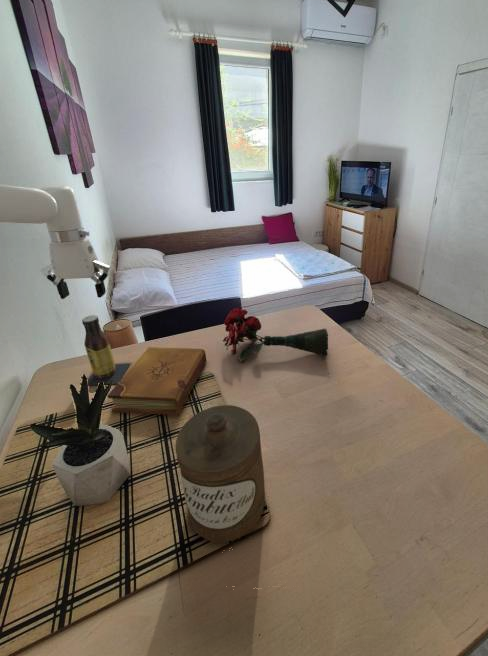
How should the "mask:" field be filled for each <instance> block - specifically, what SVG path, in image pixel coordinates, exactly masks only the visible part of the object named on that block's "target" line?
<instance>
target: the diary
mask: <svg viewBox="0 0 488 656" xmlns="http://www.w3.org/2000/svg"><path fill="white" fill-rule="evenodd" d="M206 363H207V355H206V351H205V350H204V349H203V348H191V347H190V348H189V347H188V348H186V347H185V348H184V347H160V346H159V347H156V346H155V347H153V346H148V348H147V349H146V350H145V351H144V352H143V353H142V354H141V356H140V357H138V359H137V360H136V361H135V363H133V365H132V366H131V367H130V368H129V370H128V371H126V372H125V373H124V375H123V377H122V378H121V380H120V381H119V383H118V384H115V386H114V387H113V388H112V389H111V391H110V392H109V393H108V394H107V399H112V402H113V406H112V408H111V413H121V414H122V413H123V414H144V415H145V414H146V415H163V416H164V415H165V416H166V415H167V416H178V415H179V414H180V413H181V411H182V409H183V407H184V406H185V404H186V402H187V400H188V398H189V395H190V394H191V392H192V390H193V389H194V387H195V384H196V382H197V380H198V378H199V376H200V375H201V373H202V370H203V369H204V367H205V365H206Z"/></svg>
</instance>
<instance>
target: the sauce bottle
mask: <svg viewBox="0 0 488 656" xmlns="http://www.w3.org/2000/svg"><path fill="white" fill-rule="evenodd" d="M99 322H100V319H99V317H98V315H95V314H92V315H87V316H85V317H83V318H82V320H81V323H82V325H83V328H84V330H85V337H84V348H85V351H86V355H87V358H88V361H89V364H90V368H91V370H92V373H94V375H95V376H96V377H97V378H105V377H109V376H111V375H112V374H113V373H114V372H115V370H116V367H115V364H116V362H115V358H114V355H113V352H112V347H111V344H110V341H109V339H108V335H107V334H106V332H104V331H103V330H102V329H101V326H100V323H99Z"/></svg>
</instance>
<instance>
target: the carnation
mask: <svg viewBox="0 0 488 656" xmlns="http://www.w3.org/2000/svg"><path fill="white" fill-rule="evenodd" d="M247 314H248V310H247V309H240V308H238V307H237V308H234V309H233V310H231V311H229V313H228V314H227V316H226V318H225V319H224V326H225V332H226V333H228V334H227V335H226V336H225V337H224V338H223V340H222V343H224V347H226V349H225V350H226V351H227V350H229V349H228V348H229V347H230V346H232V349H231V350H230V353H231V355H233V356H235V355H237V354H238V351H237V346H238V345H240V343H244V342H245V341H250V342H251V343H250V344H249V345H248V346H247V347H245V348H244V349H243V350H241V353H240V355H239V361H240V363H242V361H244V360H245V359H246V358H247V357H248V355H249V354H250V352H251V349H252V347H254V348H253V350H252V353H253V354H257V353H259V352H260V350H261V349H262V347H263V346H265V347H266V346H268V347H270V346H275V347H279V346H280V347H281V346H282V347H289V348H292V349H295V350H300V351H304V352H309V353H312V354H317V355H320V356H325V357H326V356H328V350H329V333H328V330H327V328H322V329H316V330H311V331H305V332H301V333H299V332H298V333H296V334H295V333H294V334H290V335H285V336H279V335H278V336H276V335H275V336H273V335H272V336H271V335H264V337H263V336H260V335H258V334H257V333H258V331H260V330H262V323H261V321H260V319H259V318H258V317H256V316H255V315H250V316H247V317H245V316H246V315H247ZM258 341H259V342H260V343H257V344H255V342H258Z"/></svg>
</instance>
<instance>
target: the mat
mask: <svg viewBox="0 0 488 656" xmlns="http://www.w3.org/2000/svg"><path fill="white" fill-rule="evenodd" d="M130 365H131V362H129V363H115V367H116V370H115V372H114V373H113V374H112V375H111V376H109V377H105V378H97V377H96V376H95V375H94V373H93V372H92V373H91V374H90V376H89V377H88V378H87V380H88V386H87V387H93V386H95V387H96V386H99V385H98V383H99V382H100V381H103V382H104V385H103V386H109V384H110V382H111V381H112V380H113V384H112V385H117V384H118V383H119V381H120V380H121V379H122V378H123V377H124V376H125V374H126V373H127V370H128V368H129V367H130Z"/></svg>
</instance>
